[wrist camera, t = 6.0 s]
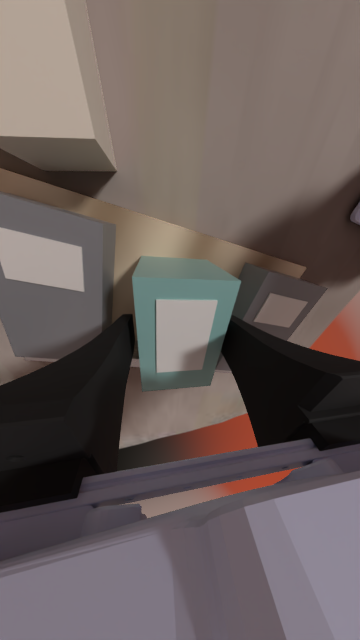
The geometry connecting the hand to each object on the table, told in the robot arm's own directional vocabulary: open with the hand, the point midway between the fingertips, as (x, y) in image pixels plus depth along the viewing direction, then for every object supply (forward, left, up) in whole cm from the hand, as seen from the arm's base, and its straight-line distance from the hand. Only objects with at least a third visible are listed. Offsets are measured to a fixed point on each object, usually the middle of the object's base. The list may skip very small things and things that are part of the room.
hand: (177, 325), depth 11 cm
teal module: (0, 0, -3) cm, 3 cm away
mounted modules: (0, 0, -4) cm, 4 cm away
